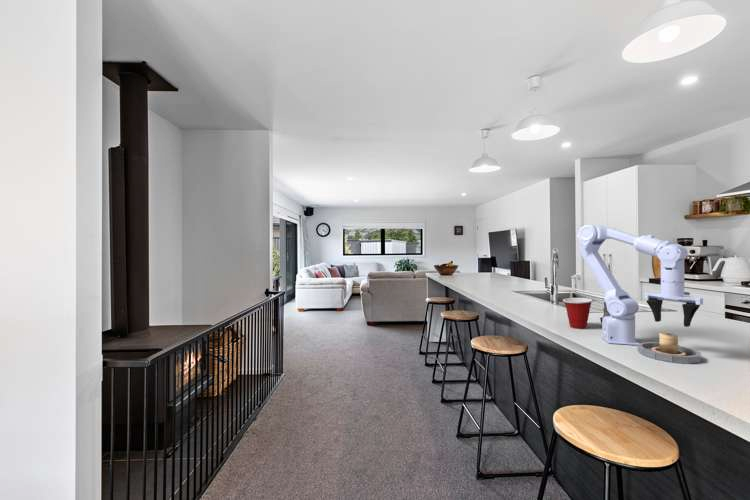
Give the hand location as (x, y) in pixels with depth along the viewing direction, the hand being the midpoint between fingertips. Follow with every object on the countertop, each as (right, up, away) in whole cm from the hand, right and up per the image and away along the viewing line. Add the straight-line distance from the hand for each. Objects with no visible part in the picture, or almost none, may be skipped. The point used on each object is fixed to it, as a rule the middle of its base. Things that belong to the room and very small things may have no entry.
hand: (671, 323), depth 109 cm
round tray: (-3, -10, -2) cm, 10 cm away
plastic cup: (-10, -9, +34) cm, 36 cm away
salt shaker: (+2, -9, +33) cm, 34 cm away
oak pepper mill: (-3, -9, -2) cm, 10 cm away
